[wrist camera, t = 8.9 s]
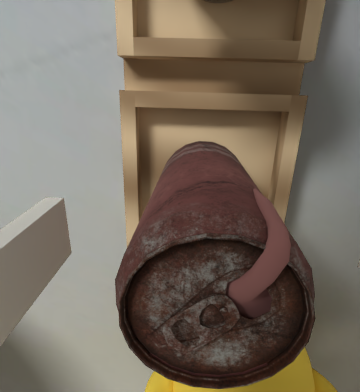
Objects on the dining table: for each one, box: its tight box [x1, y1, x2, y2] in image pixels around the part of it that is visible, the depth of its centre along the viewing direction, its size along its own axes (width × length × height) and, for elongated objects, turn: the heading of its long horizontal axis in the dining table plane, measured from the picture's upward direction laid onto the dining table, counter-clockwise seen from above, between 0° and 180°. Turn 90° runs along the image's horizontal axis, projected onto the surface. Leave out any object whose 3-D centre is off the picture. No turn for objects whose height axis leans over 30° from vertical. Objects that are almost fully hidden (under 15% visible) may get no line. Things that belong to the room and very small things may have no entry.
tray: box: [115, 0, 326, 247], centre depth 18 cm, size 28×12×3 cm, turn 178°
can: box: [115, 141, 315, 389], centre depth 14 cm, size 6×6×14 cm
